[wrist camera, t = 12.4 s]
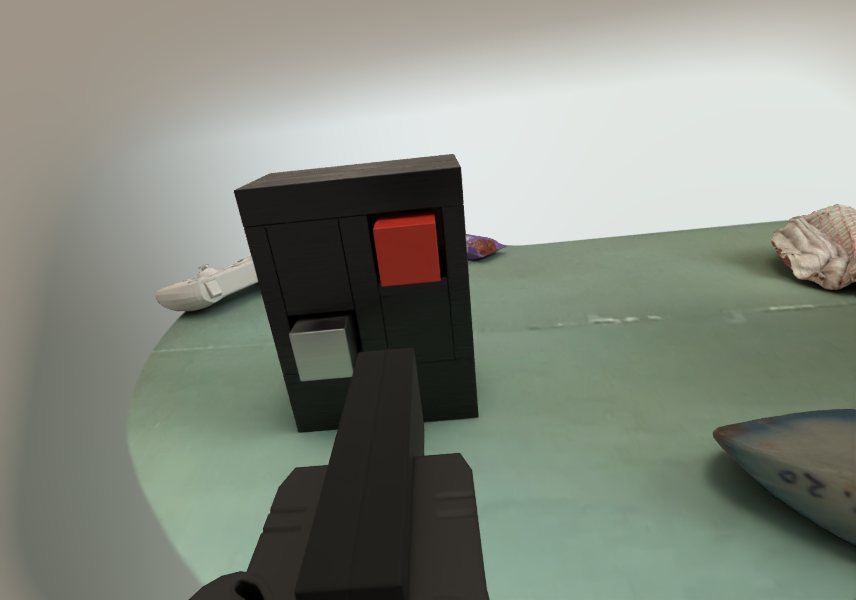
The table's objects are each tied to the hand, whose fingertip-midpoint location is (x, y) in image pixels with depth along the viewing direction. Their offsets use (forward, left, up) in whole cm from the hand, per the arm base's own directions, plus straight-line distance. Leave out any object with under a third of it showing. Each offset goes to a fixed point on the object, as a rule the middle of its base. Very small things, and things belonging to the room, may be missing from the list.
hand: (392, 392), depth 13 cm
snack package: (+42, -21, -11) cm, 48 cm away
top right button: (+13, -5, -2) cm, 14 cm away
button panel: (+17, -4, -12) cm, 21 cm away
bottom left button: (+15, 0, -7) cm, 17 cm away
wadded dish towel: (+18, -56, -9) cm, 59 cm away
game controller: (+51, +9, -11) cm, 53 cm away
